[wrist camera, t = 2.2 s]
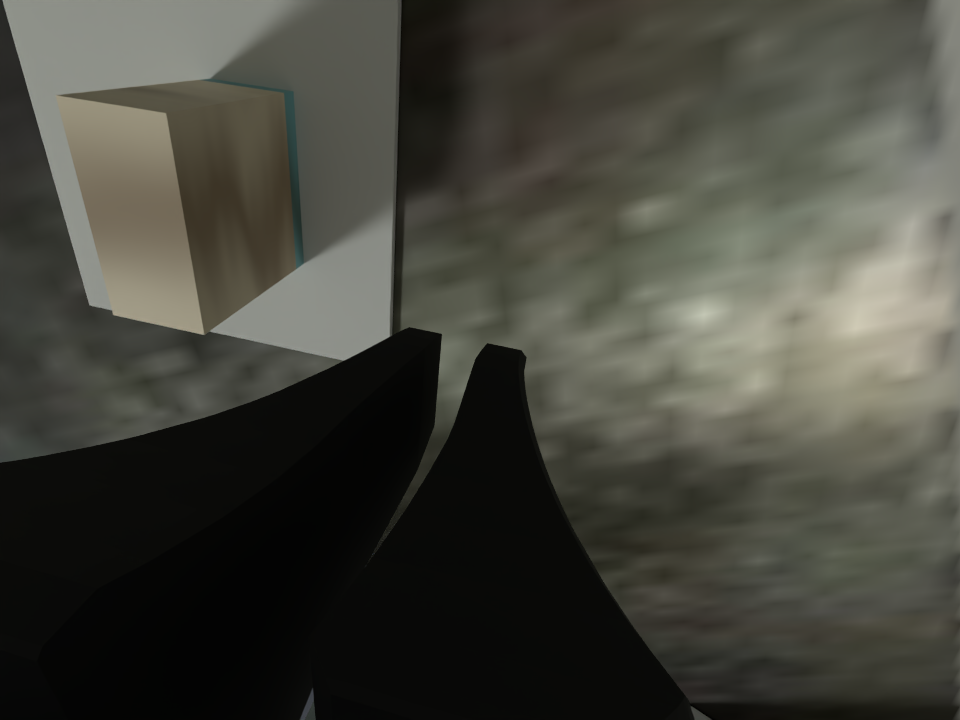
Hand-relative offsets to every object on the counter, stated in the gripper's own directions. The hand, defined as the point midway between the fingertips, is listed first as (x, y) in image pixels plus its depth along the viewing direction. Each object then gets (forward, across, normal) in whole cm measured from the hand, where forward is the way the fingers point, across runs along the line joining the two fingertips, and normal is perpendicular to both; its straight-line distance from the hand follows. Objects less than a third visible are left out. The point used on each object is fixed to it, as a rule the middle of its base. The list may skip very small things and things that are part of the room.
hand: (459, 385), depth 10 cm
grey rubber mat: (+10, +12, 0) cm, 16 cm away
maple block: (+10, +10, 0) cm, 14 cm away
